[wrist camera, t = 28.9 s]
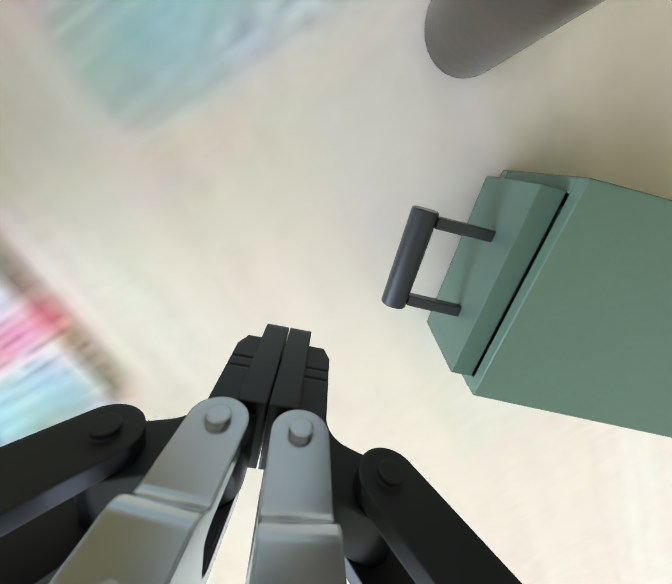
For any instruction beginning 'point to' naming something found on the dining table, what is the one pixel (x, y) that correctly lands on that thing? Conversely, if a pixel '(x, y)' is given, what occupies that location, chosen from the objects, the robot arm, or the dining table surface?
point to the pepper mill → (491, 30)
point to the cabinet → (591, 312)
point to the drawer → (476, 264)
